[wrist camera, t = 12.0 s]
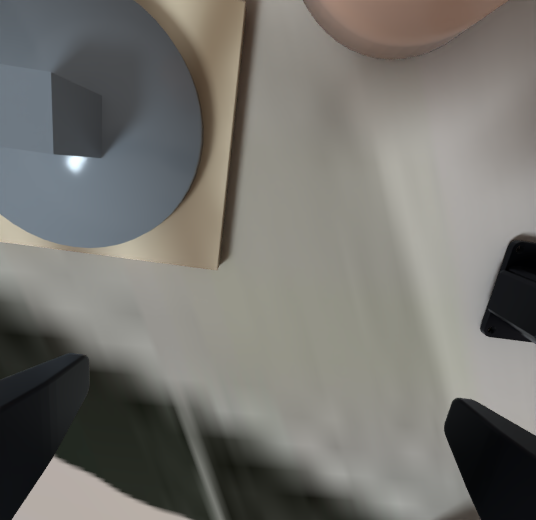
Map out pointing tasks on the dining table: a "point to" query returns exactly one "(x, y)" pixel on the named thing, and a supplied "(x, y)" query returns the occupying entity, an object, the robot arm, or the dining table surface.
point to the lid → (93, 121)
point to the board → (214, 137)
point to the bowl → (397, 23)
